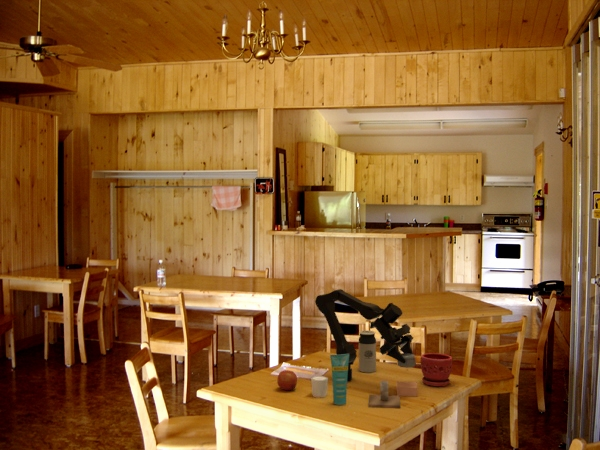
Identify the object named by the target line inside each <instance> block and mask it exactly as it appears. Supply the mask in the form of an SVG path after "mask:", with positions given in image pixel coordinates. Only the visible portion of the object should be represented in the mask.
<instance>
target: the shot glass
mask: <svg viewBox="0 0 600 450" xmlns="http://www.w3.org/2000/svg"><path fill="white" fill-rule="evenodd" d="M310 380H311V393H312V396H313V397H315V398H319V397H321V398H325V397H327V393H328V392H327V391H328V381H329V378H328V376H327V377H326V376H322V375H316V376H312V377H311V378H310Z"/></svg>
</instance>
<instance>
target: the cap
mask: <svg viewBox="0 0 600 450" xmlns="http://www.w3.org/2000/svg"><path fill="white" fill-rule="evenodd" d="M400 353H401V352H400ZM401 355H402V356H403V358H404V359H405V361H406V363H402V362H400V361H398V360H397V366H398V367H400V368H408V369H409V368H414V367H416V355H415V354H414V353H413V354H410V353H403V352H402V353H401Z"/></svg>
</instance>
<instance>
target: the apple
mask: <svg viewBox="0 0 600 450" xmlns="http://www.w3.org/2000/svg"><path fill="white" fill-rule="evenodd" d="M297 383H298V377H297V374H296V373H295V372H294V371H292V370H285V369H284V370H281V371H280V372H279V373H278V375H277V385H278V387H279V388H280V389H282V390H284V391H291V390H294V389H295V388H296V387H297Z"/></svg>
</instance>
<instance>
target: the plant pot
mask: <svg viewBox="0 0 600 450" xmlns="http://www.w3.org/2000/svg"><path fill="white" fill-rule="evenodd" d="M452 368H453V357H452V356H450V355H448V354H445V353H439V352H438V353H437V352H436V353H434V352H432V353H428V352H427V353H423V354H421V355H420V369H421V373H422V375H423V377H422V378H421V381H422V382H423V383H424V384H425V385H427V386H432V387H444V386H447V385H449V384H450V381H451V379H450V376H451V373H452Z"/></svg>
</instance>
